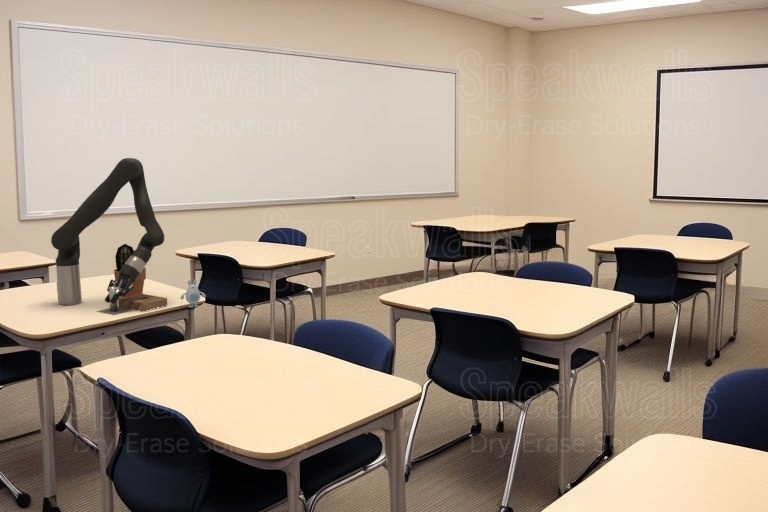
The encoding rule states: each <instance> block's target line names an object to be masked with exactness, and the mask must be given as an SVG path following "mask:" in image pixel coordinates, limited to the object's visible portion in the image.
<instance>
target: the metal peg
mask: <svg viewBox="0 0 768 512" xmlns="http://www.w3.org/2000/svg"><path fill="white" fill-rule="evenodd" d="M116 291H117V288H116V286H111V287H109V292H108V294H109V300H111V298H112V297H113V295H114V294H116ZM109 308H110V311H118V308H119V307H118V300H117V301H116V302H115V304H112V303H111V302H109Z"/></svg>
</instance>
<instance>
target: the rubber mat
mask: <svg viewBox="0 0 768 512" xmlns="http://www.w3.org/2000/svg"><path fill="white" fill-rule="evenodd" d="M130 310H131V309H127V308H122V307H118V311H110V307H109V308H105V309H100V310H96V311H95V312H97V313H101V314H106V315H112V316H117V315H120V314H125V313H129V311H130ZM130 312H131V311H130Z"/></svg>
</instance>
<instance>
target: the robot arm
mask: <svg viewBox="0 0 768 512" xmlns="http://www.w3.org/2000/svg"><path fill="white" fill-rule="evenodd" d="M145 178H146V177H145V172H144V166H143V164H142V162H141V161H140V160H139V159H137V158H134V157H125V158H122V159H121V160H119V161H118V163H116V165H115V166H114V168H113V169H112V171H111V172H110V173H109V175H107V178H105V180H103V182H101V183H100V184H99V185H98V186H97V187H96V188H95V189H94V190H93V191H92V192H91V193H90V194H89V195H88V197H86V199H84V201H83V202H82V203H81V204H80V206H79V207H78V208H77V209H76V210H75V212H74V213H73V214H72V215H71V217H70V218H69V219H68V220H66V222H64V223H63V224H62V225H61V226H60V227H58V229H56V230H55V231H54V232H53V233H52V235H51V237H50V238H51V240H50V243H51V245H52V247H53V248H54V249H56V250H58V253H57V256H56V258H55V266H56V267H55V270H56V280H57V281H56V290H57V291H56V292H57V302H58V304H59V305H60V306H72V305H73V304H74V305H78V304H81V303H82V302H83V299H82V298H83V297H82V284H81V271H80V269H81V268H80V259H81V245H80V243H81V242H80V234H81V233H82V232H83V231H84V230H86V228H88V227H90V225H92V224H93V223H95V222H96V221H97V220H98V219H100V218H101V217H102V216H103V215H104V214H105V213H106V211H108V209H110V207H111V206H112V204H113V203H114V201H115V200H116V198H117V195H118V194H119V192H120V191H121V189H122V188H123V187H124V186H126V185H127V184H128V183H129V185H130V187H131V189H132V194H133V204H134V208H135V209H134V210H135V213H136V216H137V219H138V222H139V225H140V226H141V227H143V228H144V229H145V231H146V232H145V233H144V235H143V236H141V238H140V241H139V242H138V245H137V248H135V250H134V253H133V254H132V255H131V257H130V258H129V259H128V260H127V261H126V263H125V264H124V266H123V267H122V268H121V270H120V271H119V277H118V278H117V279H116V280H115V279H111V280H109V283H108V286H107V289H106V291H107V292H108V294H107V295H106V297H105V298H104V301H105V303H109V304H110V302H111V303H112V304H115V302H116V301H117V302H118V298H121V296H125V295H126V294H127V293H128V292H129V291H130V290H131V289H133V288H134V286H133V285H132V284H131V283H132V282H135V281H136V279H137V278H138V276H139V275H140V273H141V272H142V270H143V269H144V268H146V265H147V263H148V262H149V261H150V259H151V257H152V254H153V253H152V252H153V251H154V248H155V247H159V246H161V245H163V243H164V242H165V234H164V231H163V229H162V227H161V225H160V223H159V222H158V220H157V219H156V215H155V211H154V209H153V206H152V203H151V200H150V197H149V193H148V189H147V183H146V179H145ZM111 286H116V288H117V291H116V294H114V295H113V297H112V298H111V300H109V287H111ZM74 305H73V306H74Z"/></svg>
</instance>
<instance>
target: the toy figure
mask: <svg viewBox="0 0 768 512" xmlns="http://www.w3.org/2000/svg"><path fill="white" fill-rule="evenodd" d="M197 283H198V281H197V279H194V280H193V283H192V281H191V280H190V279H188V281H187V284H188V287H187V288H186V292H185V293H183V294H182V295H181V296H180V298H179V299H180V301H181V300H183V299H185V300H186V302H187V303H188V304H189V305H188V308H189V309H192V308H199V305H198V303H199V302H200V300H201V297H202V298H203V299H204V298H206V297H207V295H206V294H205V293H204V292H202V291H200V289H199V288H198V286H197Z"/></svg>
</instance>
